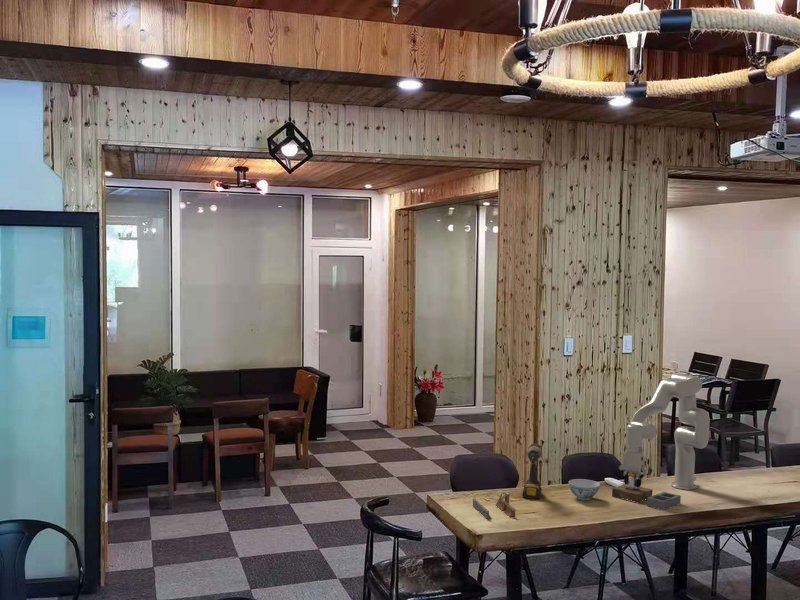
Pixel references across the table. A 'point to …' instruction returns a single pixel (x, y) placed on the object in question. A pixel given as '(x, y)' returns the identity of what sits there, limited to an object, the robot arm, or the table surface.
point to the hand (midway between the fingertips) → (632, 484)
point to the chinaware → (584, 488)
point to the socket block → (631, 493)
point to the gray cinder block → (663, 500)
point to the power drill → (533, 474)
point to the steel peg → (632, 481)
